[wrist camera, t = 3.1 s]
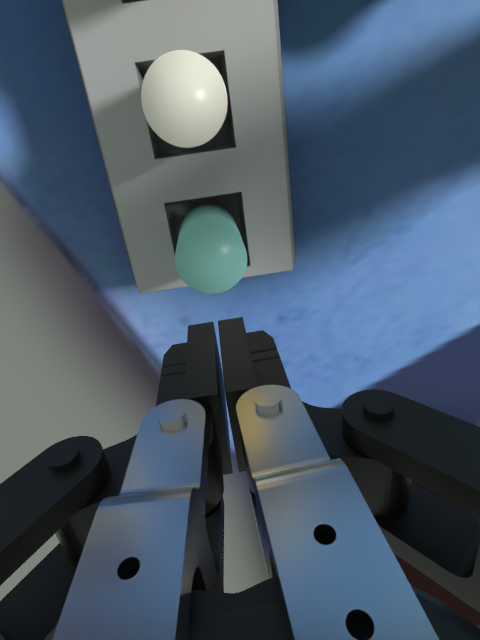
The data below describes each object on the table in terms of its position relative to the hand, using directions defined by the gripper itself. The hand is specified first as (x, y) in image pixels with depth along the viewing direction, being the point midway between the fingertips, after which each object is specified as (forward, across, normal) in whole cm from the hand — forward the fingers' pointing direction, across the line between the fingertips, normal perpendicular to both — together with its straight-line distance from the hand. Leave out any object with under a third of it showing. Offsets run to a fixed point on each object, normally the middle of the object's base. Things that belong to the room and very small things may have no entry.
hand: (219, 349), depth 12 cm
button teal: (+15, 0, 0) cm, 15 cm away
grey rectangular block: (+21, 0, -7) cm, 22 cm away
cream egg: (+15, 0, -7) cm, 16 cm away
